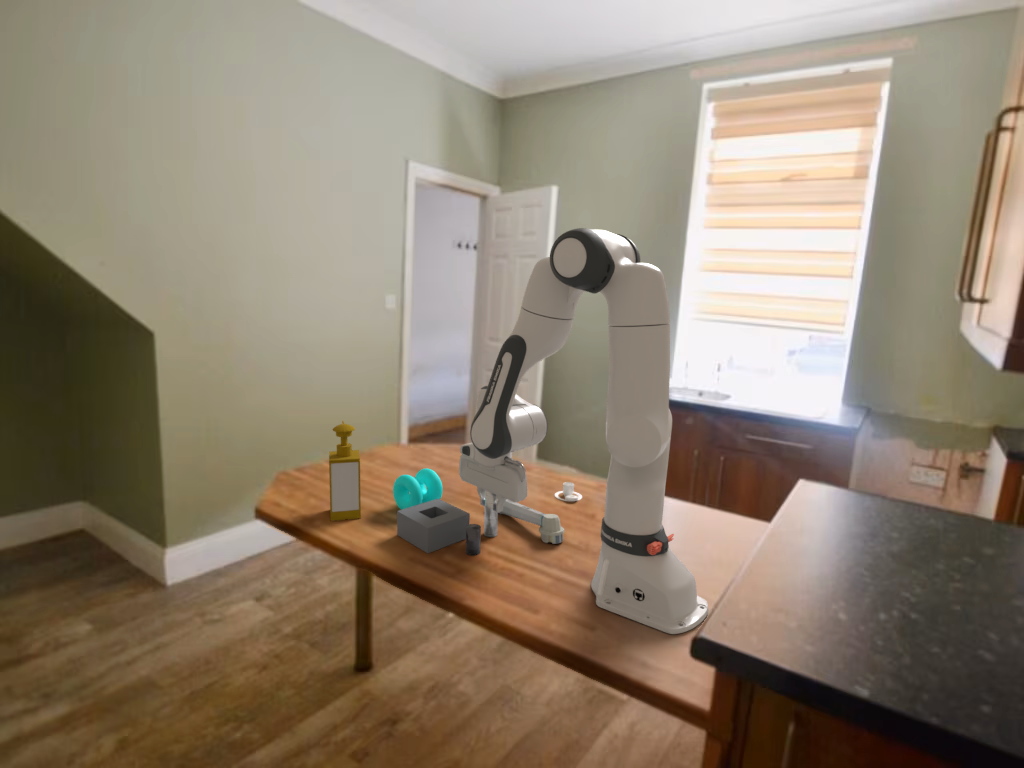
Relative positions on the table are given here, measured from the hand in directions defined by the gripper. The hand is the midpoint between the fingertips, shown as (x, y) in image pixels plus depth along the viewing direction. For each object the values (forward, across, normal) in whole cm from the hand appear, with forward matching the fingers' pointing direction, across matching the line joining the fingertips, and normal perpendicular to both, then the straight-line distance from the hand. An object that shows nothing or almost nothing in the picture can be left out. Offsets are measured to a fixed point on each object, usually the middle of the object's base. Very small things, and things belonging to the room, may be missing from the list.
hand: (491, 508), depth 132 cm
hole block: (+7, +8, +11) cm, 15 cm away
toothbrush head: (+7, -2, -10) cm, 13 cm away
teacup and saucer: (+7, +4, -31) cm, 32 cm away
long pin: (+7, 0, 0) cm, 7 cm away
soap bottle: (+7, +35, +19) cm, 40 cm away
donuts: (+7, +24, +4) cm, 25 cm away
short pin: (+7, -4, +9) cm, 12 cm away
